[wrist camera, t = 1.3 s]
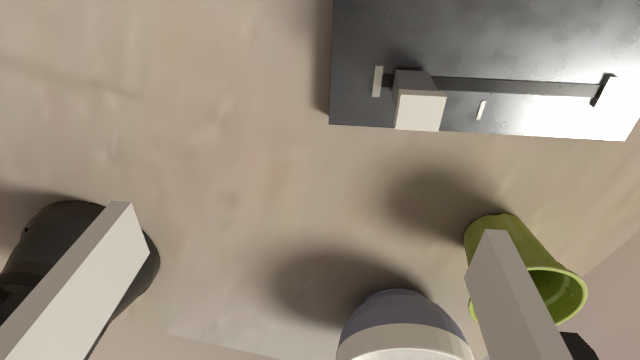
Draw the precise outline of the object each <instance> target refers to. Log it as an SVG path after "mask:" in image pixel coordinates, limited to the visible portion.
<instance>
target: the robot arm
mask: <svg viewBox="0 0 640 360" xmlns="http://www.w3.org/2000/svg"><path fill="white" fill-rule="evenodd" d="M159 268H160V256H159V253H158V251H157V248H156V246H155V245H154V243H153V242H152V240H151V239H150V238H149V237H148V236H147V235H146V233H145V232H144V231H142V230H141V227H140V225H139V222H138V219H137V217H136V214H135V211H134V209H133V206H132V203H130V202H116V201H111V202H110V203H109V204H108V206H107V207H106V208H104V207H101V206H98V205H94V204H90V203H85V202H77V201H63V202H57V203H53V204H50V205H48V206H46V207H45V208H43V209H42V210H41V211H40V212H39V213H38V214H37V215H36V216H34V217H33V218H32V219H31V220H30V221H29V222H28V223H27V225H26V226H25V228H24V229H23V231H22V234H21V240H20V242H19V243H18V244H17V246H16V247H15V249H14V250H13V252H12V254H11V255H10V257H9V259H8V261H7V263H6V265H5V267H4V269H3V271H2V272H1V273H0V360H88V358H89V357H90V355H91V353H92V352H93V350H94V348H95V347H96V345H97V344H98V342H99V340H100V339H101V337H102V335H103V334H104V332H105V331H106V329H107V327H108V326H109V324H110V323H111V322H112V321H113V320H114V319H115V318H116V317H117V316H118V315H119V314H120V313H121V312H123V311H124V310H125V309H126V308H127V307H128V306H129V305H130V304H131V303H132V302H133V301H134V300H135V299H136V298H137V297H138V296H140V295H141V294H142V293H144V292H145V291H146V290H147V289H148V288H149V286H150V285H151V283H152V282H153V280H154V278H155V276H156V275H157V273H158V271H159ZM464 279H465V282H466V286H467V289H468V292H469V295H470V298H471V301H472V304H473V307H474V310H475V314H476V317H477V320H478V323H479V326H480V329H481V332H482V335H483V339H484V342H485V345H486V348H487V351H488V354H489V357H490V360H599V359H598V357H597V355H596V353H595V352H594V350H593V349H592V348H591V347H590V346H589V345H588V344H587V343H586V342H585V341H584V340H583V339H582V338H581V337H580V336H579V335H578V334H577V333H569V332H559V331H558V329H557V327H556V325H555V323H554V321H553V319H552V317H551V315H550V313H549V311H548V309H547V307H546V305H545V303H544V301H543V300H542V298H541V296H540V294H539V292H538V290H537V288H536V286H535V284H534V282H533V280H532V278H531V276H530V274H529V272H528V270H527V268H526V266H525V265H524V263H523V261H522V259H521V257H520V255H519V253H518V251H517V249H516V247H515V245H514V243H513V241H512V239H511V237H510V235H509V233H508V231H507V230H494V229H485V231H484V233H483V235H482V238H481V240H480V242H479V245H478V247H477V249H476V251H475V254H474V256H473V258H472V261H471V263H470V265H469V268H468V270H467V272H466V275H465V277H464Z"/></svg>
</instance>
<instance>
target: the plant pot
mask: <svg viewBox="0 0 640 360" xmlns="http://www.w3.org/2000/svg"><path fill="white" fill-rule="evenodd" d="M485 229H494V230H507V231H508V233H509V235H510V237H511V239H512V241H513V243H514V245H515V247H516V249H517V251H518V253H519V255H520V257H521V259H522V261H523V263H524V265H525V266H526V268H527V270H528V272H529V274H530V276H531V278H532V280H533V282H534V284H535V286H536V288H537V290H538V292H539V294H540V296H541V298H542V300H543V301H544V303H545V305H546V307H547V309H548V311H549V313H550V315H551V317H552V319H553V321H554V323H555V325H559V324H560V323H562V322H565V321H566V320H568V319H570V318H571V317H572V316H573V315H575V314H576V313H577V312H578V311H579V310H580V309H581V308H582V307H583V305H584V303H585V302H586V299H587V294H588V293H587V292H588V290H587V287H586V284H585V283H584V281H583V280H582V279H581V278H580V277H579V276H578V275H577V274H575V273H574V272H572V271H570V270H567V269H566V268H565V267H564V266H563V265H562V264H560V263H559V262H557V261H556V260H555V259H554V258H553V257H552V256H551V255H550V254H549V252H548V251H547V250H546V249H545V248H544V247H543V246H542V244H541V243H540V242H539V241H538V240H537V239H536V237H535V236H534V235H533V234H532V233H531V231H530V230H529V229H528V228H527V227H526V226H525V224H524V223H523V222H522V221H521V220H520V219H519V218H517V217H515V216H513V215H510V214H505V213H503V214H500V215H486V216H483V217H481V218H479V219H477V220H475V221H474V222H473V223H472V224H471V225H470V226H469V227H468V228H467V229H466V231H465V235H464V245H465V251H466V256H467V261H468V267H469V265H470V263H471V261H472V258H473V256H474V254H475V251H476V249H477V247H478V245H479V242H480V240H481V238H482V235H483V233H484V231H485ZM468 308H469V312H470V315H471V317H472V318H473V320H474V321H475V322H477V323H478V320H477V317H476V314H475V310H474V307H473V304H472V301H471V298H469V303H468ZM478 324H479V323H478Z"/></svg>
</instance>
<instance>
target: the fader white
mask: <svg viewBox="0 0 640 360" xmlns="http://www.w3.org/2000/svg"><path fill="white" fill-rule="evenodd" d="M446 99H447V96H446V94H445V92H444V91H438V89H437V88H436V86H435V84H434V82H433V80H432V78H431V76H430V74H429V72H428V71H412V70H395V75H394V82H393V89H392V100H393V104H394V109H395V119H394V127H395V129H398V130H416V131H433V132H438V131H439V127H440V123H441V119H442V115H443V111H444V107H445V103H446Z"/></svg>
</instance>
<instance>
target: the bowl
mask: <svg viewBox="0 0 640 360" xmlns="http://www.w3.org/2000/svg"><path fill="white" fill-rule="evenodd" d="M336 360H474V358H473V355H472V352H471V349H470V348H469V346H468V344H467V342H466V340H465V338H464V336H463V334H462V332H461V330H460V328H459V327H458V325H457V324H456V323H455V322H454V321H453V320H452V319H451V317H450V316H449V315H448V314H447V313H446V312H445V311H444V310H443V309H442V308H441V307H440V306H438V305H437V304H435V303H433V302H432V301H430V300H428V299H427V298H426V297H425V296H424V295H422V294H420V293H418V292H416V291H413V290H408V289H400V288H395V289H386V290H382V291H379V292H377V293H374V294H372V295H371V296H370V297H368V298H367V299H366V300H365V302H364V303H363V304H362V305H361V306H359V307H358V308H357V309H356V310H355V311H354V312H353V313H352V315H351V317H350V318H349V320H348V322H347V323H346V325H345V327H344V329H343V331H342V333H341V337H340V341H339V345H338V349H337V352H336Z"/></svg>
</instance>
